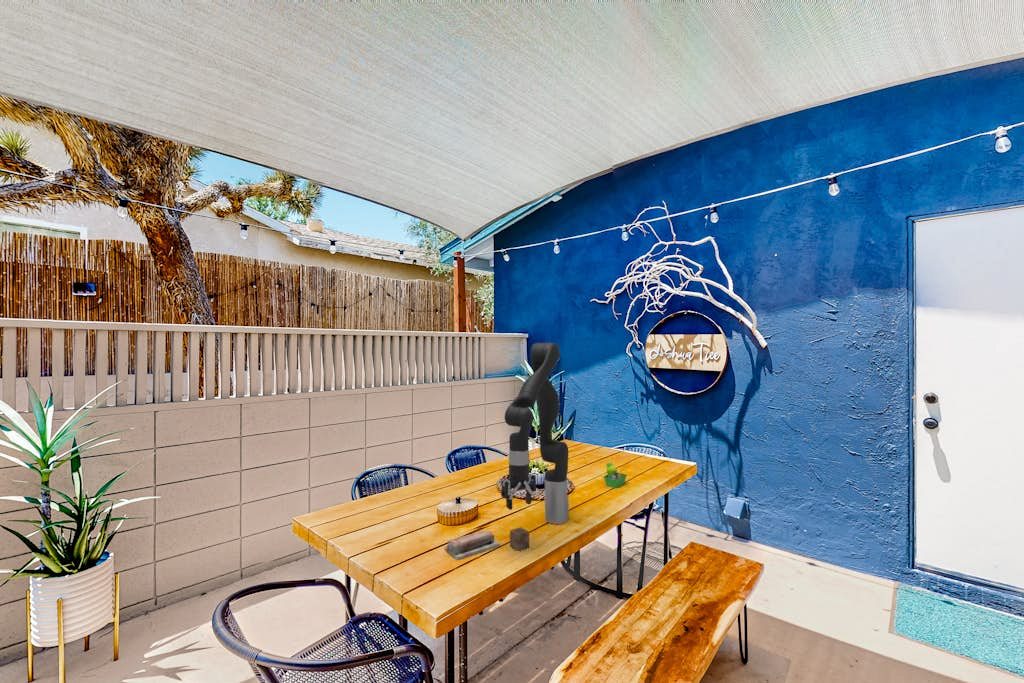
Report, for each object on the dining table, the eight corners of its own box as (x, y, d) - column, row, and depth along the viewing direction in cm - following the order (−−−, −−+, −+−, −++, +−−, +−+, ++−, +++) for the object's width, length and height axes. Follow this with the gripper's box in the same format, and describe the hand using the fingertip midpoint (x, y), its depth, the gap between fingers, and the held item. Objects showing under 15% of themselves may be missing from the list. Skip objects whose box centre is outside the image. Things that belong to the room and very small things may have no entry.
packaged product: (456, 547, 148) (443, 537, 156) (456, 562, 148) (444, 551, 156) (500, 534, 158) (486, 525, 166) (500, 547, 158) (486, 537, 166)
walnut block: (520, 543, 161) (520, 527, 161) (529, 548, 156) (529, 531, 157) (510, 547, 158) (510, 530, 158) (518, 552, 154) (518, 535, 154)
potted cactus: (615, 489, 219) (615, 467, 219) (600, 485, 225) (600, 463, 225) (627, 484, 226) (627, 463, 227) (613, 480, 233) (613, 459, 233)
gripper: (527, 456, 165) (527, 499, 164) (497, 462, 156) (497, 507, 156) (540, 460, 159) (540, 505, 158) (509, 467, 150) (509, 514, 150)
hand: (519, 506), depth 157 cm, fingers open, 8 cm apart
